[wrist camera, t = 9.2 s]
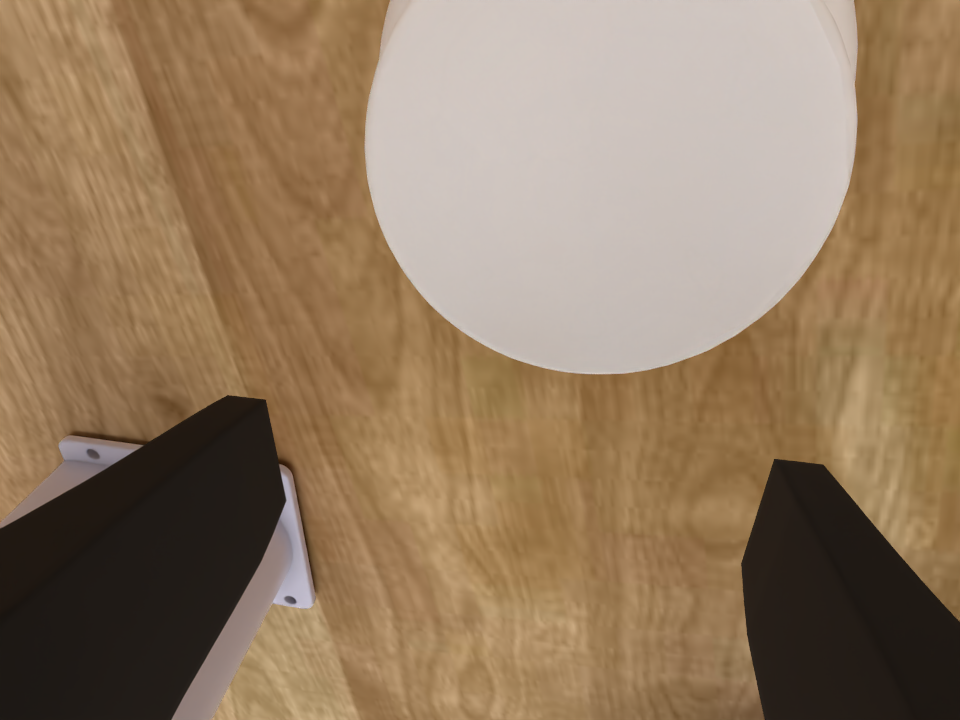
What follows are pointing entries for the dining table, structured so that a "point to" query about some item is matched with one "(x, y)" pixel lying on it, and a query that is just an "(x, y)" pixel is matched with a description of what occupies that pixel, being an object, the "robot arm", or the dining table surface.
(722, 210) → the pill bottle
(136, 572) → the robot arm
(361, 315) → the dining table surface
